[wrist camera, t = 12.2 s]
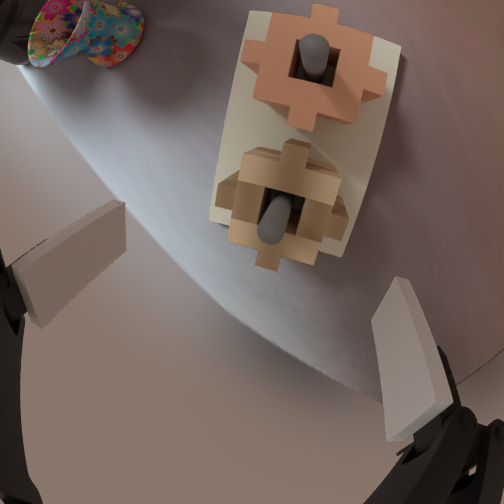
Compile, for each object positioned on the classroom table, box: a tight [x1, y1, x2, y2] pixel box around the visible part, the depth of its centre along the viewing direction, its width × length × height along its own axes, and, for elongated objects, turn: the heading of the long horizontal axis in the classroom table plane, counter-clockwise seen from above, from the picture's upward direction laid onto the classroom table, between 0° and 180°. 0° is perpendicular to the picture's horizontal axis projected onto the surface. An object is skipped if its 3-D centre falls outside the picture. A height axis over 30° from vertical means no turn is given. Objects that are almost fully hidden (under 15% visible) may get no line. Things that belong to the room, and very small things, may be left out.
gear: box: [215, 138, 349, 271], centre depth 22 cm, size 10×10×6 cm
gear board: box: [209, 3, 401, 258], centre depth 18 cm, size 14×22×11 cm, turn 169°
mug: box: [28, 0, 144, 68], centre depth 15 cm, size 12×9×11 cm
